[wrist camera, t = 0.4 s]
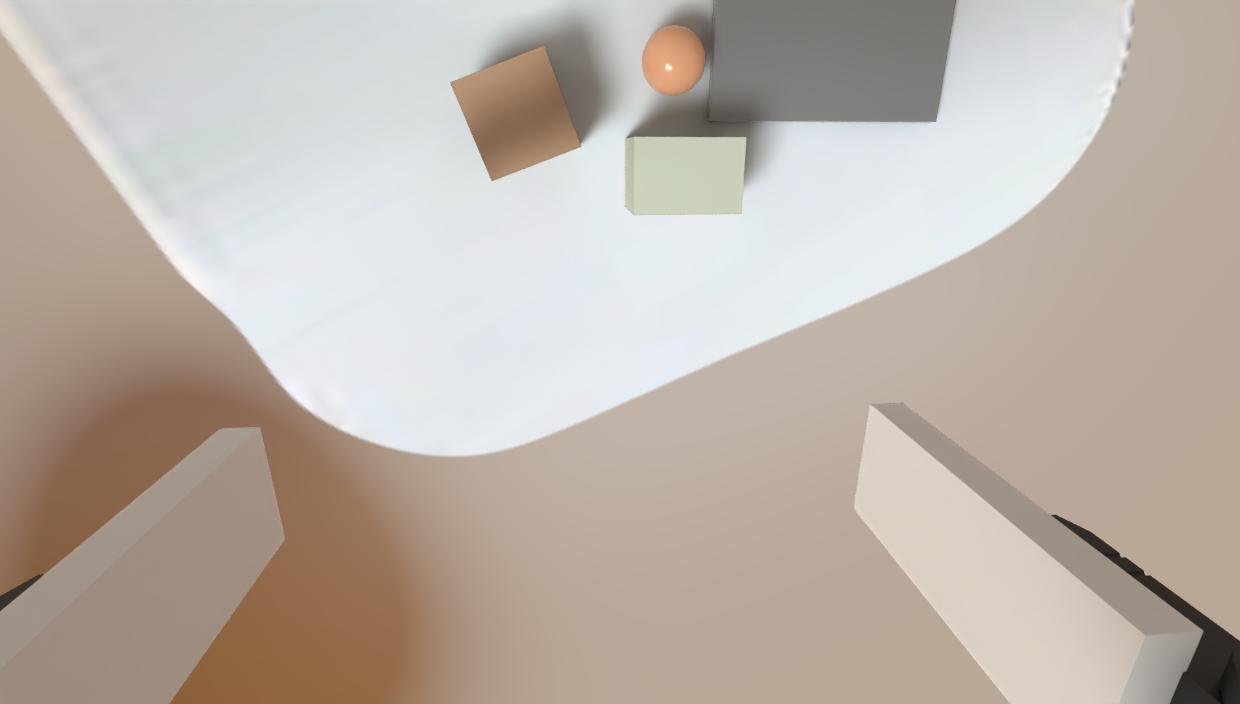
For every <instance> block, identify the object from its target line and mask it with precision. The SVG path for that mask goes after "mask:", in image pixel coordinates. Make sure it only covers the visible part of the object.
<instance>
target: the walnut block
mask: <svg viewBox="0 0 1240 704" xmlns="http://www.w3.org/2000/svg"><path fill="white" fill-rule="evenodd" d="M450 83H451V86H452V88H453V90H454V93H455V95H456V97H457V100H458V102H459V105H460V107H461V109H462V112H463V114H464V116H465V119H466V121H467V124H468V126H469V128H470V131H471V133H472V135H473V138H474V140H475V142H476V145H477V147H478V150H479V152H480V154H481V157H482V159H483V161H484V164H485V166H486V168H487V171H488V173H489V176H490V178H491V180H492V181H494V180H496V179H499V178H501V177H504V176H507V175H509V174H512V173H514V172H517V171H520V170H522V169H525V168H527V167H530V166H532V165H535V164H538V163H540V162H543V161H545V160H548V159H551V158H553V157H556V156H558V155H561V154H564V153H566V152H569V151H571V150H574V149H577V148H579V147H581V145H580V142H579V140H578V137H577V134H576V131H575V128H574V126H573V123H572V120H571V117H570V115H569V112H568V109H567V106H566V104H565V101H564V98H563V95H562V93H561V90H560V87H559V84H558V82H557V79H556V76H555V73H554V71H553V68H552V65H551V62H550V60H549V57H548V54H547V51H546V49H545V46H542V47H539V48H537V49H534V50H532V51H529V52H526V53H524V54H521V55H519V56H516V57H514V58H511V59H509V60H506V61H504V62H501V63H498V64H496V65H493V66H491V67H488V68H486V69H483V70H481V71H478V72H475V73H473V74H470V75H468V76H465V77H463V78H460V79H458V80H455V81H453V82H450Z"/></svg>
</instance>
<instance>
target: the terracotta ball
mask: <svg viewBox="0 0 1240 704" xmlns="http://www.w3.org/2000/svg"><path fill="white" fill-rule="evenodd" d="M704 67H705V51H704V47H703V45H702V42H701V41H700V39H699V37H698V36H697V35H696V34H695V33H694V32H693V31H692V30H690V29H688V28H686V27H684V26H679V25H670V26H666V27H663V28H661V29H659V30H658V31H657V32H655V33H654V34H653V35H652V36H651V37H650V39H649V40H648V42H647V43H646V46H645V48H644V51H643V55H642V68H643V73H644V76H645V78H646V80H647V82H648V83H649V84H650V86H651V87H652V88H653V89H655V90H656V91H658V92H659V93H661V94H664V95H670V96H675V95H681V94H683V93H686V92H687V91H689V90H690V89H692V88H693V87H694V86H695V85H696V84H697V82H698V81H699V80H700V78H701V76H702V74H703V71H704Z"/></svg>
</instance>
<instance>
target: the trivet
mask: <svg viewBox="0 0 1240 704" xmlns="http://www.w3.org/2000/svg"><path fill="white" fill-rule="evenodd" d="M955 3H956V0H713V18H712V40H711V61H710V83H709V105H708V121H765V122H936V119H937V112H938V106H939V100H940V94H941V88H942V82H943V76H944V70H945V64H946V58H947V51H948V45H949V39H950V33H951V27H952V21H953V15H954V9H955Z"/></svg>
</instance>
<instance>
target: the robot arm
mask: <svg viewBox="0 0 1240 704" xmlns="http://www.w3.org/2000/svg"><path fill="white" fill-rule="evenodd" d="M854 509H855V511H856V512H857V513H858V514H859V516H860V517H861V518H862V519H863V521H864V522H865V523H866V524H867V526H868V527H869V528H870V529H871V530H872V532H873V533H874V534H875V536H876V537H877V538H878V539H879V541H880V542H881V543H882V544H883V545H884V547H885V548H886V549H887V551H888V552H889V553H890V554H891V555H892V557H893V558H894V559H895V560H896V562H897V563H898V564H899V566H900V567H901V568H902V569H903V571H904V572H905V573H906V574H907V575H908V577H909V578H910V579H911V580H912V582H913V583H914V584H915V585H916V587H917V588H918V589H919V590H920V591H921V593H922V594H923V595H924V597H925V598H926V599H927V600H928V602H929V603H930V604H931V605H932V607H933V608H934V609H935V610H936V612H937V613H938V614H939V615H940V617H941V618H942V619H943V620H944V622H945V623H946V624H947V625H948V627H949V628H950V629H951V630H952V632H953V633H954V634H955V635H956V637H957V638H958V639H959V640H960V642H961V643H962V644H963V645H964V646H965V648H966V649H967V650H968V652H969V653H970V654H971V655H972V657H973V658H974V659H975V660H976V662H977V663H978V664H979V665H980V667H981V668H982V669H983V670H984V672H985V673H986V674H987V675H988V676H989V678H990V679H991V680H992V681H993V683H994V684H995V685H996V686H997V687H998V689H999V690H1000V691H1001V693H1002V694H1003V695H1004V696H1005V698H1006V699H1007V700H1008V701H1009V703H1010V704H1240V641H1239V640H1238V639H1236V638H1235V637H1234V636H1232V635H1231V634H1229V633H1228V632H1227V631H1225V630H1224V629H1223V628H1221V627H1220V626H1218V625H1217V624H1216V623H1214V622H1213V621H1212V620H1210V619H1209V618H1208V617H1206V616H1205V615H1203V614H1202V613H1201V612H1199V611H1198V610H1197V609H1195V608H1194V607H1193V606H1191V605H1190V604H1188V603H1187V602H1186V601H1184V600H1183V599H1181V598H1180V597H1179V596H1178V595H1176V594H1175V593H1173V592H1172V591H1171V590H1169V589H1168V588H1167V587H1165V586H1164V585H1163V584H1161V583H1160V582H1158V581H1157V580H1156V579H1154V578H1153V577H1152V576H1146V575H1145V574H1144V571H1143V570H1142V569H1141V568H1139V567H1138V566H1137V565H1135V564H1134V563H1132V562H1131V561H1130V560H1128V559H1127V558H1126V557H1124V558H1121V557H1120V554H1119V552H1117V551H1116V550H1115V549H1113V548H1112V547H1111V546H1109V545H1108V544H1106V543H1105V542H1104V541H1102V540H1101V539H1100V538H1098V537H1097V536H1095V535H1094V534H1093V533H1091V532H1090V531H1088V530H1086V529H1084V528H1082V527H1080V526H1078V525H1076V524H1073V523H1071V522H1069V521H1067V520H1065V519H1063V518H1061V517H1059V516H1057V515H1050V514H1048V513H1047V512H1046V511H1044V510H1043V509H1042V508H1041V507H1039V506H1038V505H1036V504H1035V503H1034V502H1033V501H1031V500H1030V499H1028V498H1027V497H1026V496H1024V495H1023V494H1022V493H1021V492H1020V491H1018V490H1017V489H1016V488H1014V487H1013V486H1011V485H1010V484H1009V483H1007V482H1006V481H1005V480H1004V479H1002V478H1001V477H1000V476H998V475H997V474H996V473H994V472H993V471H992V470H990V469H989V468H988V467H987V466H985V465H984V464H983V463H981V462H980V461H978V460H977V459H976V458H975V457H973V456H972V455H971V454H969V453H968V452H967V451H965V450H964V449H963V448H961V447H960V446H959V445H957V444H956V443H955V442H954V441H952V440H951V439H950V438H948V437H947V436H946V435H944V434H943V433H942V432H940V431H939V430H938V429H936V428H935V427H934V426H932V425H931V424H930V423H928V422H927V421H926V420H924V419H923V418H922V417H921V416H919V415H918V414H917V413H915V412H914V411H913V410H911V409H910V408H909V407H907V406H906V405H905V404H903V403H885V404H870V408H869V415H868V421H867V427H866V434H865V440H864V447H863V452H862V459H861V465H860V471H859V477H858V484H857V490H856V496H855V503H854ZM284 540H285V537H284V532H283V528H282V523H281V519H280V514H279V510H278V506H277V501H276V496H275V492H274V488H273V483H272V479H271V474H270V470H269V466H268V461H267V457H266V452H265V448H264V443H263V439H262V434H261V430H260V427H250V428H249V427H248V428H221V429H219V430H218V431H217V432H216V433H215V434H213V435H212V436H211V437H210V438H209V439H207V440H206V441H205V442H204V443H203V444H201V445H200V446H199V447H198V448H197V449H196V450H194V451H193V452H192V453H190V454H189V455H188V456H187V457H186V458H184V459H183V460H182V461H181V462H180V463H178V464H177V465H176V466H175V467H174V468H172V469H171V470H170V471H169V472H168V473H166V474H165V475H164V476H163V477H162V478H160V479H159V480H158V481H157V482H156V483H154V484H153V485H152V486H151V487H150V488H148V489H147V490H146V491H145V492H144V493H143V494H141V495H140V496H139V497H137V498H136V499H135V500H134V501H133V502H131V503H130V504H129V505H128V506H127V507H126V508H124V509H123V510H122V511H121V512H119V513H118V514H117V515H116V516H115V517H113V518H112V519H111V520H110V521H109V522H108V523H106V524H105V525H104V526H102V527H101V528H100V529H99V530H98V531H96V532H95V533H94V534H93V535H92V536H90V537H89V538H88V539H87V540H86V541H85V542H83V543H82V544H81V545H80V546H78V547H77V548H76V549H75V550H74V551H72V552H71V553H70V554H69V555H68V556H66V557H65V558H64V559H63V560H61V561H60V563H58V564H57V565H55V566H54V567H53V568H52V569H51V570H49V571H48V572H47V573H46V574H44V575H37V576H35V577H34V578H32V579H30V580H28V581H27V582H25V583H23V584H21V585H19V586H18V587H16V588H14V589H12V590H10V591H9V592H7V593H5V594H3V595H2V596H0V704H169V703H170V702H171V700H172V699H173V697H174V696H175V695H176V693H177V692H178V690H179V689H180V687H181V686H182V684H183V683H184V682H185V680H186V679H187V678H188V676H189V675H190V673H191V672H192V670H193V669H194V667H195V666H196V665H197V663H198V662H199V660H200V659H201V658H202V656H203V655H204V653H205V652H206V651H207V649H208V648H209V646H210V645H211V643H212V642H213V641H214V639H215V638H216V636H217V635H218V634H219V632H220V631H221V629H222V628H223V626H224V625H225V623H226V622H227V621H228V619H229V618H230V616H231V615H232V613H233V612H234V611H235V609H236V608H237V606H238V605H239V603H240V602H241V601H242V599H243V598H244V597H245V595H246V594H247V592H248V591H249V589H250V588H251V587H252V585H253V584H254V582H255V581H256V580H257V578H258V576H259V575H260V574H261V572H262V571H263V570H264V568H265V567H266V565H267V564H268V562H269V561H270V559H271V558H272V557H273V555H274V554H275V553H276V551H277V550H278V548H279V547H280V545H281V544H282V542H283V541H284Z"/></svg>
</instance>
